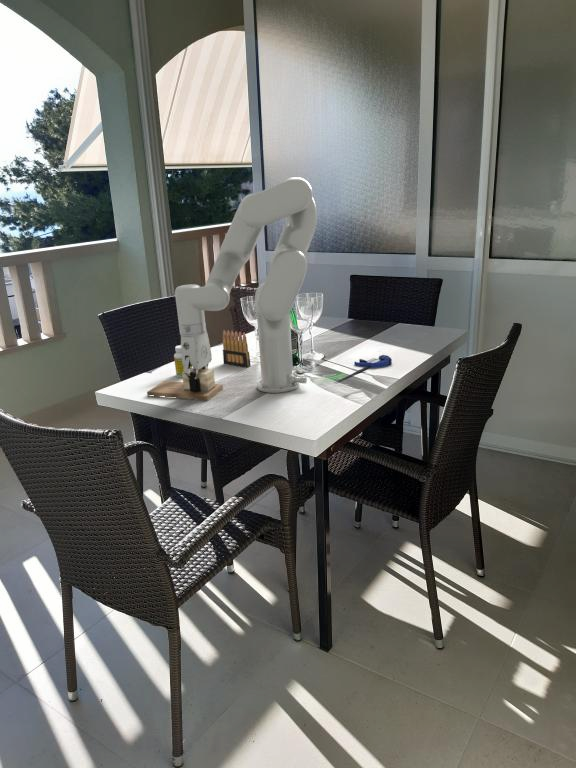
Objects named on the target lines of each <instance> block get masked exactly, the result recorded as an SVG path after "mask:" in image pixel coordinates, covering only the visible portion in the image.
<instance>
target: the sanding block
mask: <svg viewBox="0 0 576 768" xmlns="http://www.w3.org/2000/svg"><path fill="white" fill-rule="evenodd" d="M191 372H193V373H194V371H192V370H191ZM182 376H183V377H182V382H183V385H184V391H190V385H189V379H188V377H187V375H186V374H184V373H182ZM198 378H199V380H200V388H201V391H200V392H210V391H211V390H212V389H214V388H215V384H216V382H215V381H216V379H215V371H214V369H211V368H210V369H209V368H208V369H199V370H198Z"/></svg>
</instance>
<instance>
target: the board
mask: <svg viewBox="0 0 576 768" xmlns="http://www.w3.org/2000/svg"><path fill="white" fill-rule="evenodd" d="M223 389H224V388H223V384H222V383H220V384H219V383H215V388H214V389H212V390H211V391H210V392H191V391H184V385H183V381H168V380H167V381H166V380H164V381H163V382H161V383H158V385H156V386H154V387H152V388H151V389H149V390H147V391H146V393H147V396H148V395H154V396H165V397H176V398H175V399H177V398H188V399H187V400H191V399H198V400H197V401H206V400H208V401H209V400H211V399H212V398H213V397H215V396H216V395H217V394H219V393H220V392H221V391H223ZM218 392H219V393H218ZM214 395H215V396H214ZM210 398H211V399H210Z"/></svg>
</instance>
